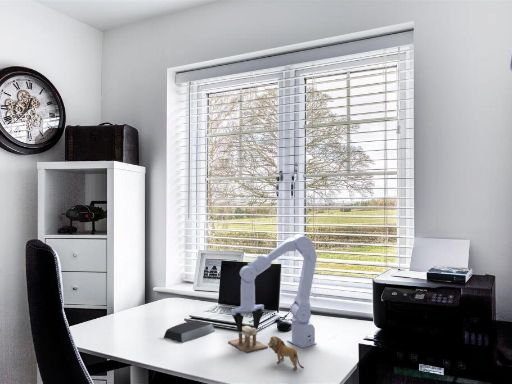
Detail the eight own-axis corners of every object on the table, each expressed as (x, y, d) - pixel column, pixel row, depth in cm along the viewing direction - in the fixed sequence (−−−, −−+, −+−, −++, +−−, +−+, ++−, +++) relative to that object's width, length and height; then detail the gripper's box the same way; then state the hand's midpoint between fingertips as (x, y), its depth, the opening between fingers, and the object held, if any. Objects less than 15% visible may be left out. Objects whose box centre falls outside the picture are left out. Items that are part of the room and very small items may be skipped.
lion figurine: (265, 361, 157) (265, 337, 157) (274, 357, 161) (274, 333, 161) (299, 372, 148) (299, 345, 148) (308, 367, 152) (308, 341, 152)
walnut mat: (267, 348, 171) (267, 346, 171) (246, 353, 165) (246, 351, 165) (248, 338, 182) (248, 336, 182) (228, 342, 177) (228, 341, 177)
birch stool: (247, 340, 178) (247, 325, 178) (256, 345, 172) (256, 330, 172) (238, 342, 175) (238, 327, 176) (247, 347, 170) (247, 332, 170)
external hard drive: (216, 332, 191) (216, 323, 191) (183, 344, 176) (183, 334, 176) (195, 327, 199) (195, 318, 199) (162, 338, 184) (162, 328, 184)
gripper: (237, 300, 166) (237, 336, 166) (268, 295, 175) (268, 329, 174) (228, 297, 172) (228, 331, 172) (258, 292, 180) (258, 325, 180)
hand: (247, 330), depth 174 cm, fingers open, 7 cm apart
